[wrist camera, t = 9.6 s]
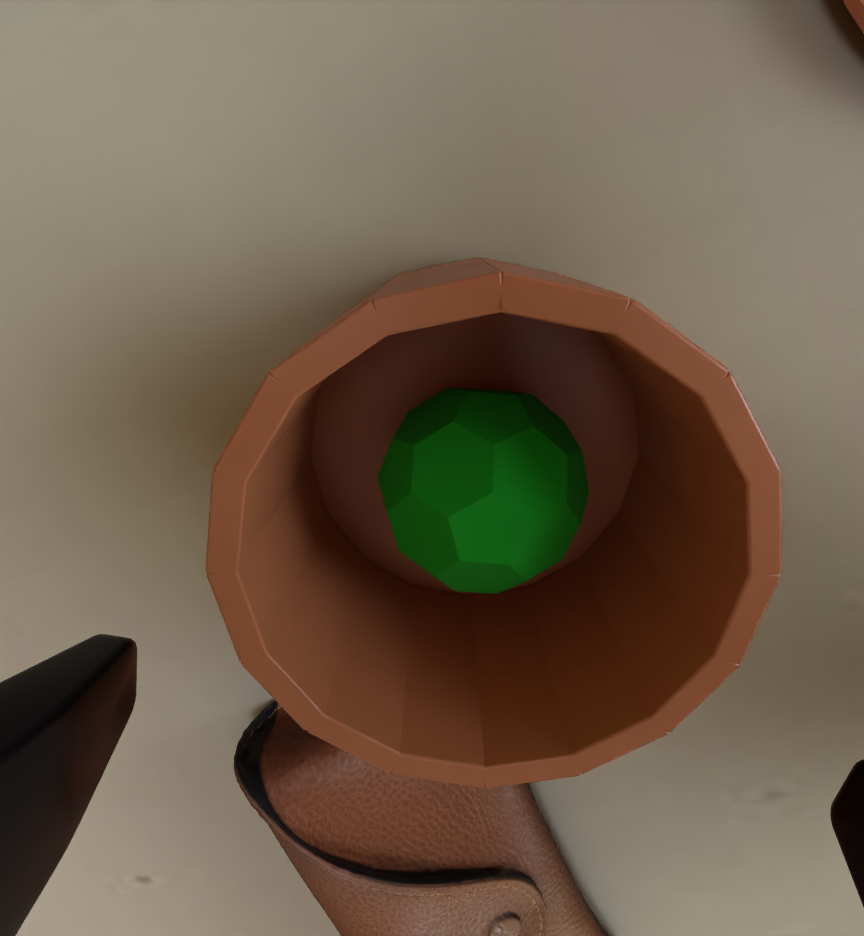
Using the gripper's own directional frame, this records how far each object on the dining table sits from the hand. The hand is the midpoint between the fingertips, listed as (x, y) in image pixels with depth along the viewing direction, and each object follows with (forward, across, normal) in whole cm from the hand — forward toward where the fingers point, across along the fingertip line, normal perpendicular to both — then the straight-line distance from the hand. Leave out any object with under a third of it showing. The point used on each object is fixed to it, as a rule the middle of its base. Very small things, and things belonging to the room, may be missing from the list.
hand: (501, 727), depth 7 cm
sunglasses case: (+11, -3, +16) cm, 19 cm away
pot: (+11, 0, 0) cm, 11 cm away
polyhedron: (+10, 0, 0) cm, 10 cm away
